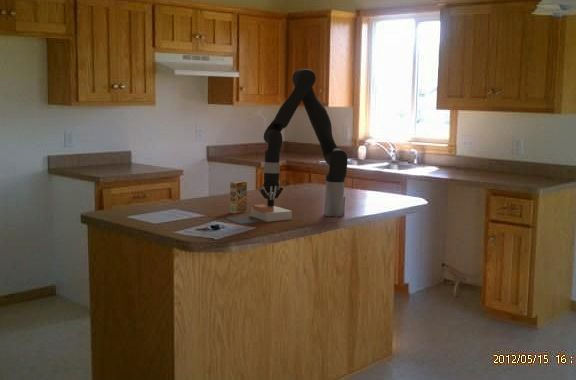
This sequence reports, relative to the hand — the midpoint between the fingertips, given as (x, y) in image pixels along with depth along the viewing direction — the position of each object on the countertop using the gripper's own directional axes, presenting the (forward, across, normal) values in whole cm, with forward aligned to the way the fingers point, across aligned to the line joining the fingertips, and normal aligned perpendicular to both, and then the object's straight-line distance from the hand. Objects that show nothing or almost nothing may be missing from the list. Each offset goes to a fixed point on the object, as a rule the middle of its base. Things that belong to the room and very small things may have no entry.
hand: (270, 207), depth 327 cm
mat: (+5, +14, 0) cm, 15 cm away
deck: (+5, -1, 0) cm, 5 cm away
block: (+1, +4, 0) cm, 4 cm away
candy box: (+5, +6, -19) cm, 21 cm away
